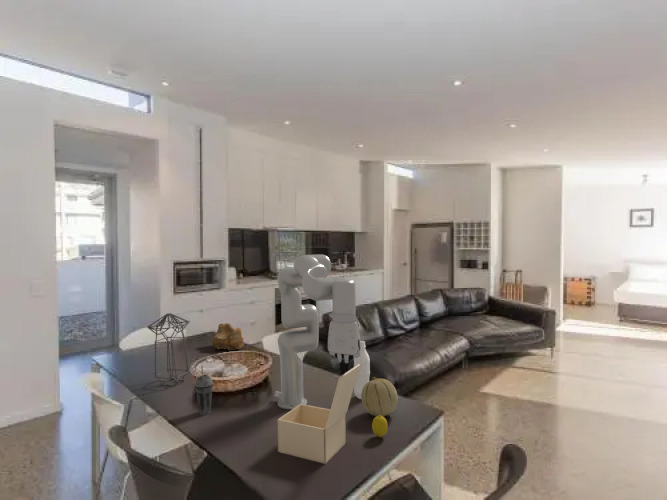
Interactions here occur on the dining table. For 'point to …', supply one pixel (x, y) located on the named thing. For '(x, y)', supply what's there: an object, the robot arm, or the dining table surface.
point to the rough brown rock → (228, 337)
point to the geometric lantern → (170, 343)
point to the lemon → (379, 426)
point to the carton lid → (342, 395)
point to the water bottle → (362, 370)
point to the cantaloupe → (379, 397)
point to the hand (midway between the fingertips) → (345, 373)
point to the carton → (310, 434)
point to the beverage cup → (204, 393)
